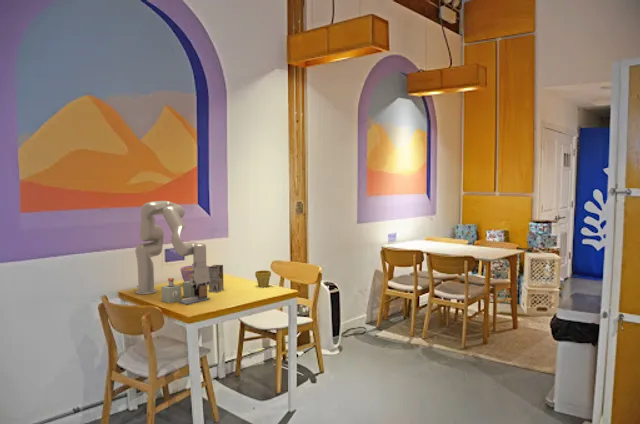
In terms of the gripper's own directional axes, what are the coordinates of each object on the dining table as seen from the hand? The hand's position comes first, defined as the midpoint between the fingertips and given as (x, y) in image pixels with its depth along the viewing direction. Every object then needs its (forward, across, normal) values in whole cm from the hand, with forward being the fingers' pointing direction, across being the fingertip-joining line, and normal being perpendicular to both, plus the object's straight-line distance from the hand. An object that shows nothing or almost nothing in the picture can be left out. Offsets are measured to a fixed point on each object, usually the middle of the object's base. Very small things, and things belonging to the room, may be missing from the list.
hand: (200, 294), depth 312 cm
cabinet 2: (+3, +2, +11) cm, 12 cm away
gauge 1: (-3, -13, +11) cm, 17 cm away
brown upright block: (+2, 0, 0) cm, 2 cm away
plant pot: (+4, +49, -2) cm, 49 cm away
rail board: (+3, -5, 0) cm, 6 cm away
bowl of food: (+4, +23, +37) cm, 44 cm away
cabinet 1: (+3, -13, +11) cm, 17 cm away
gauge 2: (-3, +2, +11) cm, 12 cm away
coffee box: (+4, +21, +12) cm, 24 cm away
